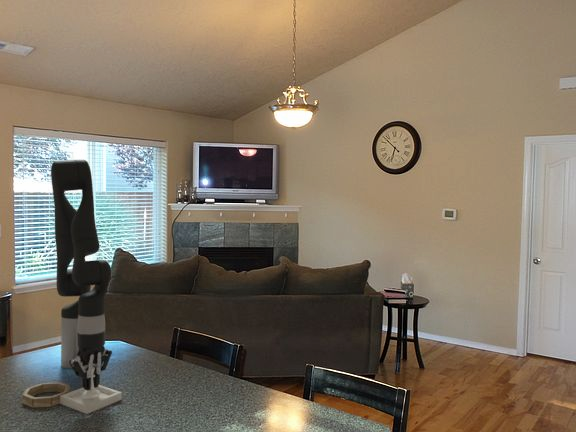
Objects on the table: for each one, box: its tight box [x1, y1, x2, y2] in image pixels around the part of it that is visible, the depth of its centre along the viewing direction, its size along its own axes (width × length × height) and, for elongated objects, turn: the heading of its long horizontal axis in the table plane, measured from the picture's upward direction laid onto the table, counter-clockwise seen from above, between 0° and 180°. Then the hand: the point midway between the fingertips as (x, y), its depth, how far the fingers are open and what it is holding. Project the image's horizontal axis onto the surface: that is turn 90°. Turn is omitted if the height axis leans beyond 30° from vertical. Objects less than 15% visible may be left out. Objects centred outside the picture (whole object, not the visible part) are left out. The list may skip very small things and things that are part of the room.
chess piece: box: [82, 364, 100, 398], centre depth 155 cm, size 5×5×10 cm
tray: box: [60, 384, 123, 415], centre depth 155 cm, size 12×12×2 cm
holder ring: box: [22, 381, 71, 408], centre depth 156 cm, size 12×12×2 cm
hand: (91, 387), depth 155 cm, fingers closed on chess piece
